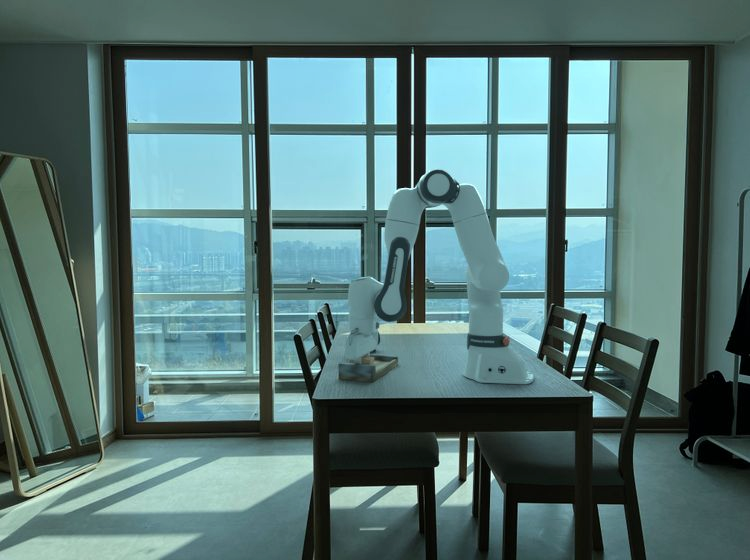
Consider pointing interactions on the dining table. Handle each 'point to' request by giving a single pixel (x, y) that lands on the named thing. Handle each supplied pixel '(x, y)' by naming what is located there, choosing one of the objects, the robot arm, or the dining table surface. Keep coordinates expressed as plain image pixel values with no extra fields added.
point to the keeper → (365, 360)
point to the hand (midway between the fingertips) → (362, 367)
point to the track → (368, 368)
